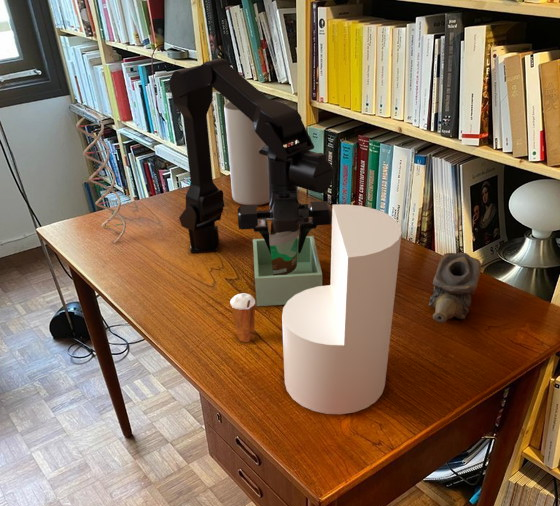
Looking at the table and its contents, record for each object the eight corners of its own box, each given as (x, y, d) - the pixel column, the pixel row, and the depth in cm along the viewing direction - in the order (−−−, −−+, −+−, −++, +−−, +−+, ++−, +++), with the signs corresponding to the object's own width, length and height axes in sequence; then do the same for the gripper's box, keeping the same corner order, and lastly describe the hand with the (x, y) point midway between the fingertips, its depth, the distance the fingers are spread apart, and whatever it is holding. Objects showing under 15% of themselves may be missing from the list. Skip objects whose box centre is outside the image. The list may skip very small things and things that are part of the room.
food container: (302, 279, 116) (300, 234, 109) (273, 280, 116) (268, 236, 110) (301, 250, 125) (299, 208, 119) (274, 252, 126) (270, 210, 119)
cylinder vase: (228, 206, 157) (218, 110, 141) (238, 189, 167) (230, 98, 151) (271, 207, 155) (267, 111, 140) (279, 190, 165) (275, 98, 149)
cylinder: (375, 347, 104) (388, 201, 86) (394, 411, 90) (414, 253, 73) (282, 352, 104) (276, 207, 86) (287, 417, 90) (281, 260, 73)
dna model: (106, 232, 147) (76, 110, 128) (131, 231, 147) (104, 108, 128) (101, 244, 141) (68, 118, 122) (126, 243, 141) (98, 116, 122)
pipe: (473, 291, 118) (482, 248, 111) (474, 353, 102) (485, 306, 95) (429, 287, 120) (436, 244, 113) (424, 347, 103) (431, 300, 97)
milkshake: (242, 349, 105) (237, 303, 99) (230, 335, 109) (225, 290, 102) (263, 342, 106) (260, 296, 100) (251, 328, 110) (247, 283, 104)
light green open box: (256, 306, 116) (254, 278, 112) (254, 265, 130) (253, 239, 126) (322, 302, 117) (322, 274, 112) (313, 262, 130) (313, 235, 126)
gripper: (235, 199, 102) (241, 274, 112) (336, 193, 103) (334, 269, 113) (235, 177, 111) (241, 249, 121) (328, 172, 111) (327, 244, 121)
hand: (285, 253), depth 119 cm, fingers closed on food container, 5 cm apart
